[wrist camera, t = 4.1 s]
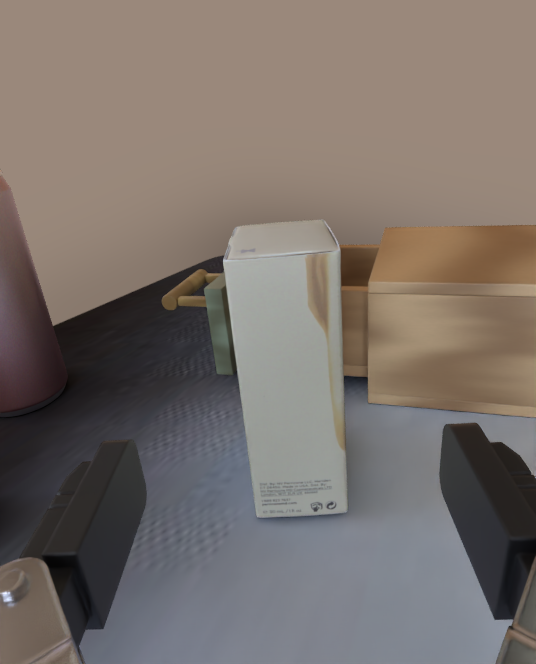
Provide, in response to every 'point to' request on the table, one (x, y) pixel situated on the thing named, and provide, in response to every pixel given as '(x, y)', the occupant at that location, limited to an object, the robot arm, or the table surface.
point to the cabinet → (454, 319)
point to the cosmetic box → (290, 364)
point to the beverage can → (24, 323)
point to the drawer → (353, 296)
